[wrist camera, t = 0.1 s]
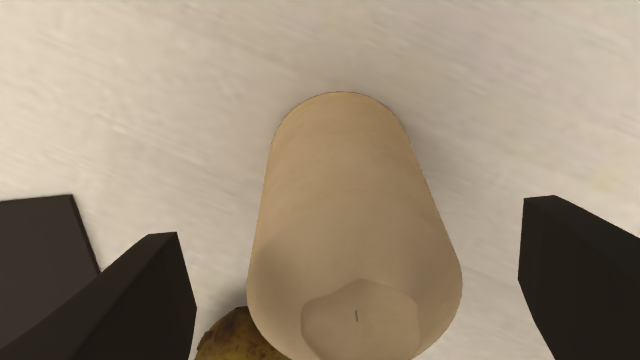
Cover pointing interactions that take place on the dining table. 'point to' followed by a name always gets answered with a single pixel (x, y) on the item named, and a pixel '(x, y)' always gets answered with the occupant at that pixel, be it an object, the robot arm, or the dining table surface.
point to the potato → (236, 340)
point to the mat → (40, 261)
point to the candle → (349, 239)
